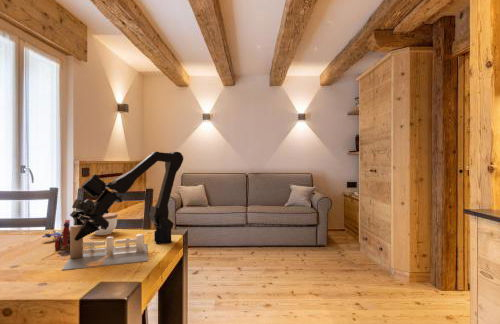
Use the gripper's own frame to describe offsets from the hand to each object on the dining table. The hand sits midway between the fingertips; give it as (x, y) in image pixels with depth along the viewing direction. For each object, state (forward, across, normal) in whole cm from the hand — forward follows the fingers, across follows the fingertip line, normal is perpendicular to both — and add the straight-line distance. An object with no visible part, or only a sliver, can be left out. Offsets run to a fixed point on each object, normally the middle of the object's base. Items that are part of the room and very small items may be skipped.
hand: (72, 239), depth 111 cm
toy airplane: (-2, -36, +12) cm, 38 cm away
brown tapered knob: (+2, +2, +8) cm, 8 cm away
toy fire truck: (+1, -20, +10) cm, 22 cm away
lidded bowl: (-15, -31, +25) cm, 42 cm away
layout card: (-2, +7, +12) cm, 14 cm away
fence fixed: (-6, +9, +15) cm, 19 cm away
